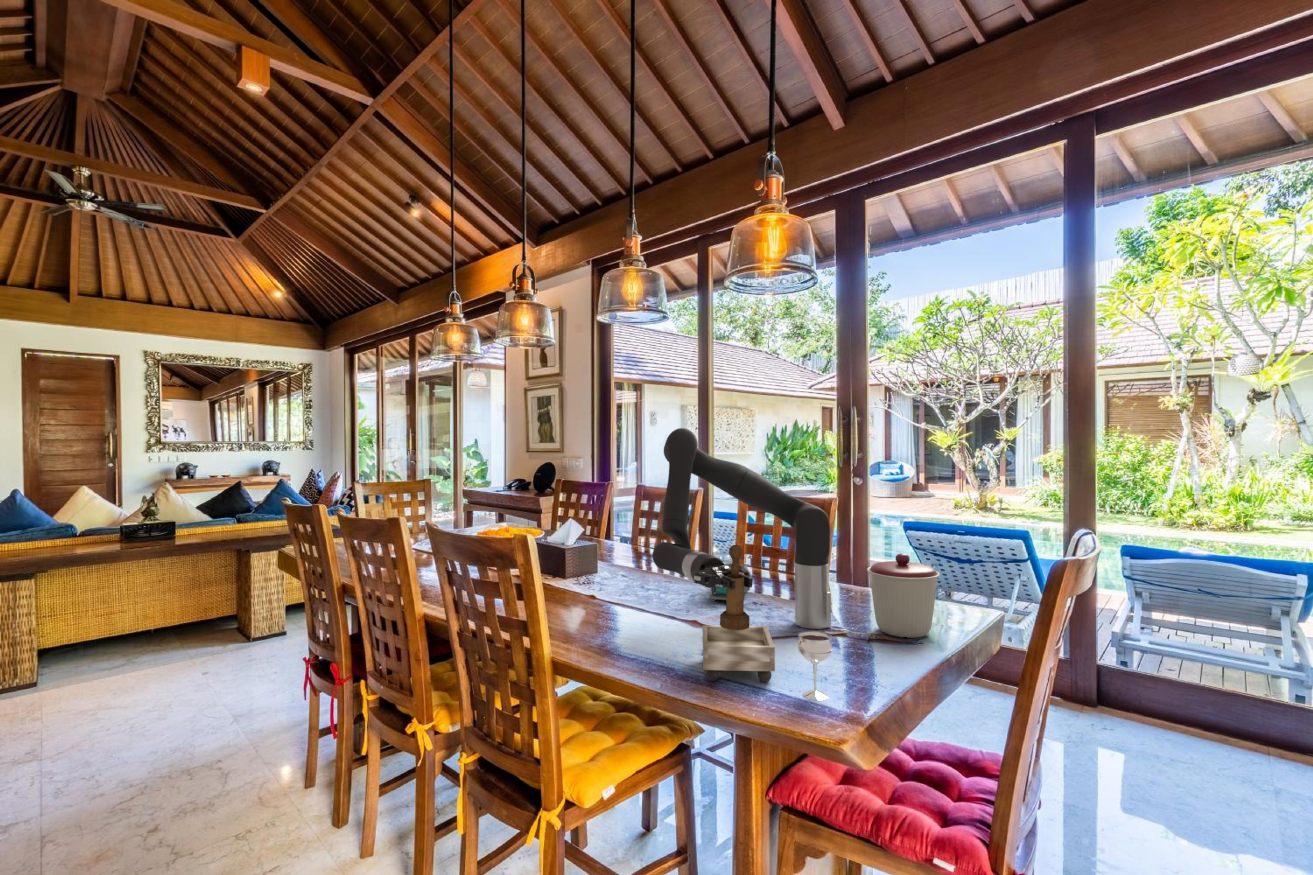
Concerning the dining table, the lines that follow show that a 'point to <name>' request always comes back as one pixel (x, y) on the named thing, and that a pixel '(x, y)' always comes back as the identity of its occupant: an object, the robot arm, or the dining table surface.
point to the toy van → (721, 591)
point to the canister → (903, 596)
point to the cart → (738, 651)
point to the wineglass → (815, 655)
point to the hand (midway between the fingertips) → (742, 583)
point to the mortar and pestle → (735, 596)
